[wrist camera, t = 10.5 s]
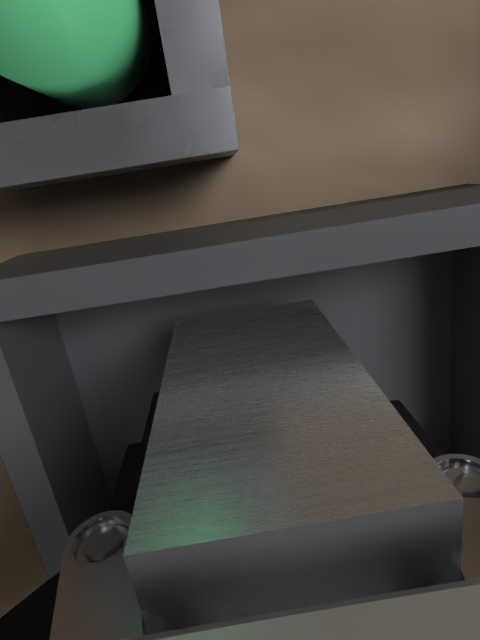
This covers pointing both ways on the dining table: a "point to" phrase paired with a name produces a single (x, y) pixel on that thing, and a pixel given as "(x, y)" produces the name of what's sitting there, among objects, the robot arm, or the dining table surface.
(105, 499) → the tote
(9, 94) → the button housing
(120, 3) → the button
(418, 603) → the robot arm
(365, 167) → the dining table surface
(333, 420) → the billet
